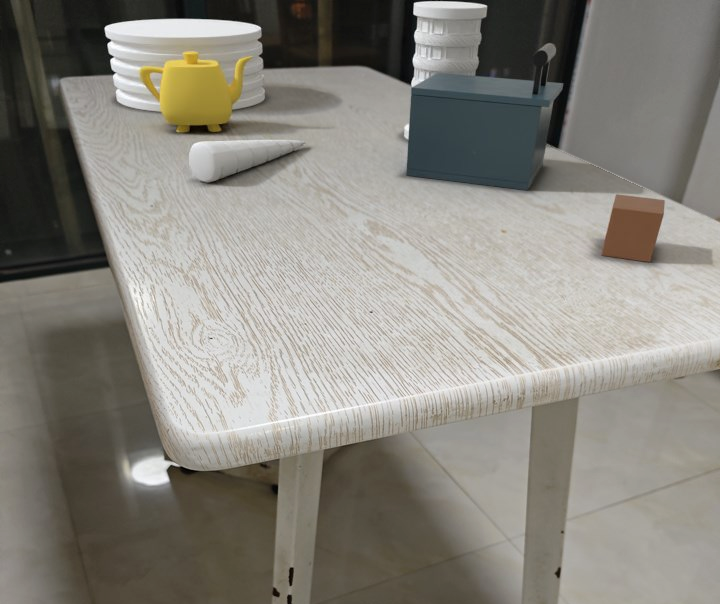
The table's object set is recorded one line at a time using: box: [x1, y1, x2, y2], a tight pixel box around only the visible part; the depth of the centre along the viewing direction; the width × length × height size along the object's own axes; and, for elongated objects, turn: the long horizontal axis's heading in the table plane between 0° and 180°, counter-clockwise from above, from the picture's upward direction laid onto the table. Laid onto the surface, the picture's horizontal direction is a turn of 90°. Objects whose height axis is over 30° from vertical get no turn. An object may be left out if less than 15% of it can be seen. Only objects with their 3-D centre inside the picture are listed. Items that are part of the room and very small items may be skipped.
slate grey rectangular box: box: [405, 94, 554, 191], centre depth 97 cm, size 17×13×10 cm
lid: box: [410, 42, 564, 107], centre depth 92 cm, size 18×13×6 cm
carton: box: [600, 193, 666, 263], centre depth 75 cm, size 5×5×5 cm
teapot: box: [139, 51, 253, 133], centre depth 114 cm, size 18×11×11 cm, turn 101°
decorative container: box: [403, 0, 488, 140], centre depth 109 cm, size 12×12×18 cm
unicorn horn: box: [188, 139, 306, 183], centre depth 98 cm, size 5×24×5 cm, turn 145°
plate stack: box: [104, 18, 266, 113], centre depth 132 cm, size 28×28×12 cm
